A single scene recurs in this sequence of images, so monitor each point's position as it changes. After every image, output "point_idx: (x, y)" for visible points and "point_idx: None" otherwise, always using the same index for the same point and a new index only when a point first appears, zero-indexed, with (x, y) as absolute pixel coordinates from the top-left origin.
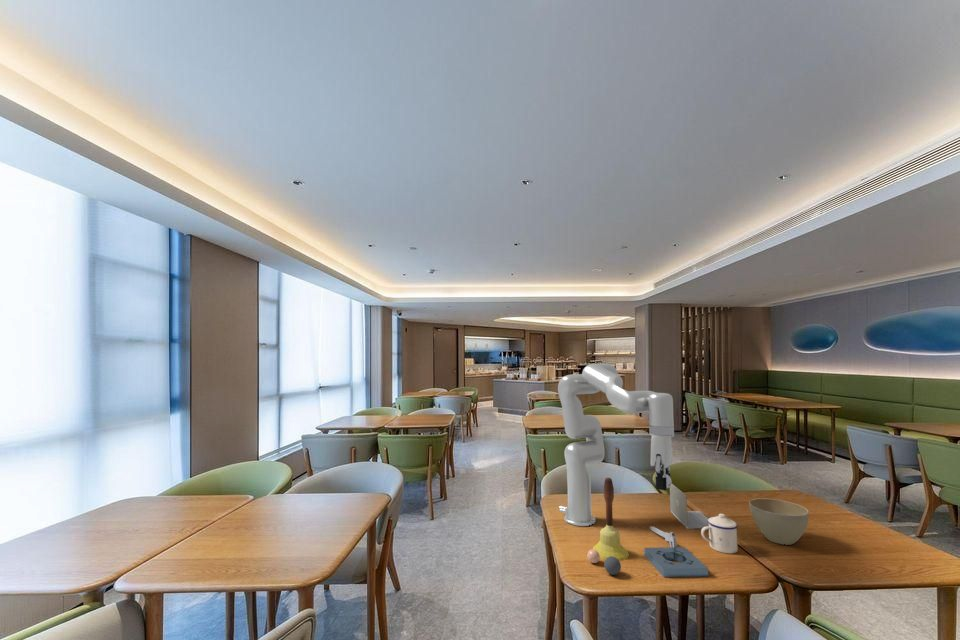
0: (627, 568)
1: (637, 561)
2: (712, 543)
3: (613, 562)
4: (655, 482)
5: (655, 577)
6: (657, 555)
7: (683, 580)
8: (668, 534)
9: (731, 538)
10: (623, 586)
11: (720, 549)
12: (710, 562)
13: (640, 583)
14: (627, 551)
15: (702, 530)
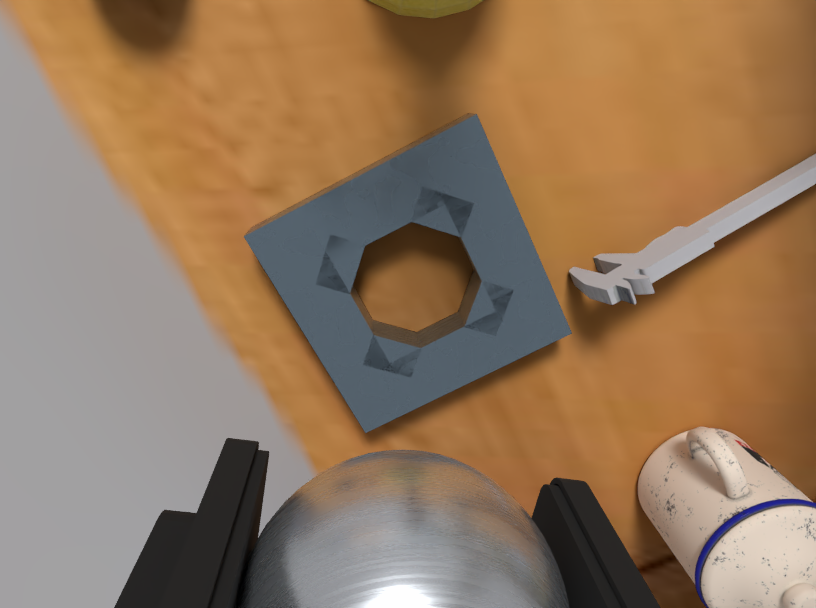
0: (251, 24)
1: (371, 78)
2: (681, 452)
3: None
4: (356, 464)
5: (227, 187)
6: (399, 198)
7: (268, 315)
8: (659, 260)
9: (676, 557)
10: (21, 21)
11: (646, 474)
12: (515, 424)
13: (114, 113)
14: (463, 4)
15: (714, 449)
